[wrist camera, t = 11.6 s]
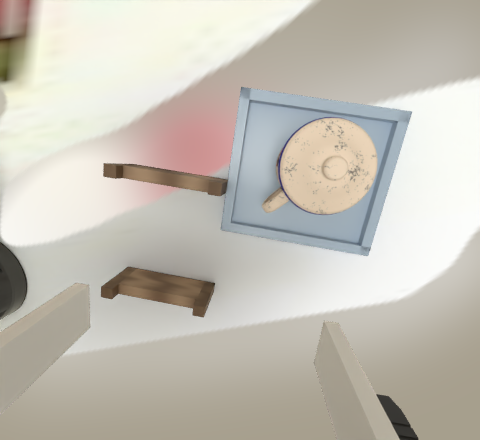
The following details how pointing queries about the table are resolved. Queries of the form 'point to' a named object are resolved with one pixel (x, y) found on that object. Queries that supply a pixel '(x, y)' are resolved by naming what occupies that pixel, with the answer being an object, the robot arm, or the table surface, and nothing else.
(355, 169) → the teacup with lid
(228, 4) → the table surface
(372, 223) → the tray
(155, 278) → the walnut rack
